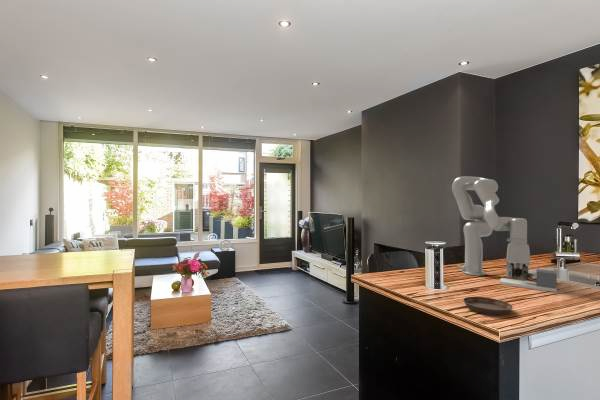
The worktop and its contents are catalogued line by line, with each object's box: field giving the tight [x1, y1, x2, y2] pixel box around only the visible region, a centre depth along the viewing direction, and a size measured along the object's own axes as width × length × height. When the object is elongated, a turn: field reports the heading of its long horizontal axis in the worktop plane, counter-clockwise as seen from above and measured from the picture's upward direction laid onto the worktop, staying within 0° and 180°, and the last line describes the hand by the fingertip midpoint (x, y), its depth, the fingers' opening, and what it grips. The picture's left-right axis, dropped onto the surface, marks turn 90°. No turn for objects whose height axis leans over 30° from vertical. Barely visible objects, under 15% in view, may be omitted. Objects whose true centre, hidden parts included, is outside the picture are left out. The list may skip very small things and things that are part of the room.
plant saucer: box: [462, 296, 513, 316], centre depth 136 cm, size 18×18×3 cm
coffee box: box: [506, 263, 529, 280], centre depth 191 cm, size 9×6×16 cm
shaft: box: [522, 270, 537, 281], centre depth 171 cm, size 12×5×5 cm, turn 55°
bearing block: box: [535, 268, 558, 290], centre depth 168 cm, size 8×8×7 cm
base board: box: [499, 277, 558, 293], centre depth 173 cm, size 24×10×2 cm, turn 55°
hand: (518, 276), depth 175 cm, fingers closed
